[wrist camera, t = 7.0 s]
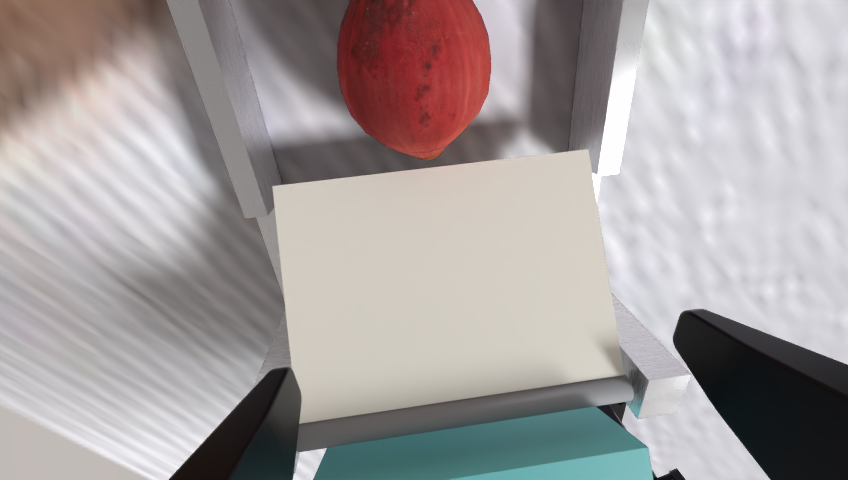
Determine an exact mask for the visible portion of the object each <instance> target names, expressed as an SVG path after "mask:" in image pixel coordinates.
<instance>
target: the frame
mask: <svg viewBox="0 0 848 480" xmlns="http://www.w3.org/2000/svg"><path fill="white" fill-rule="evenodd" d="M166 1H167V4H168V7H169V9H170V12H171V15H172V18H173V21H174V23H175V26H176V29H177V32H178V34H179V37H180V40H181V43H182V46H183V48H184V51H185V54H186V57H187V59H188V62H189V65H190V68H191V71H192V73H193V76H194V79H195V82H196V84H197V87H198V90H199V93H200V96H201V98H202V101H203V104H204V107H205V109H206V112H207V115H208V118H209V121H210V123H211V126H212V129H213V132H214V134H215V137H216V140H217V143H218V146H219V148H220V151H221V154H222V157H223V159H224V162H225V165H226V168H227V170H228V173H229V176H230V179H231V182H232V184H233V187H234V190H235V193H236V195H237V198H238V201H239V204H240V207H241V209H242V212H243V215H244V218H245V219H247V218H255V217H256V219H257V222H258V225H259V228H260V231H261V234H262V237H263V240H264V243H265V245H266V248H267V251H268V254H269V257H270V260H271V263H272V266H273V269H274V272H275V275H276V278H277V280H278V283H279V286H280V289H281V292H282V295H283V298H284V291H283V281H282V272H281V262H280V253H279V244H278V234H277V225H276V215H275V206H274V196H273V187H272V186H278V185H283V184H282V181H281V177H280V174H279V170H278V167H277V163H276V160H275V157H274V153H273V150H272V146H271V143H270V139H269V136H268V132H267V129H266V126H265V122H264V119H263V115H262V112H261V108H260V105H259V101H258V98H257V95H256V91H255V88H254V84H253V81H252V77H251V74H250V70H249V67H248V64H247V60H246V57H245V53H244V50H243V46H242V43H241V39H240V36H239V33H238V29H237V26H236V22H235V19H234V15H233V12H232V8H231V5H230V2H229V0H166ZM648 2H649V0H584V2H583V12H582V22H581V31H580V41H579V51H578V61H577V70H576V80H575V90H574V99H573V109H572V119H571V129H570V138H569V148H568V151H577V150H586V149H589V155H590V162H591V168H592V174H593V181H594V187H595V193H596V199H597V197H598V190H599V184H600V177H601V176H602V175H610V174H618V173H619V168H620V162H621V156H622V151H623V145H624V139H625V133H626V128H627V122H628V116H629V111H630V105H631V99H632V93H633V88H634V82H635V76H636V71H637V65H638V59H639V53H640V48H641V42H642V36H643V31H644V25H645V19H646V13H647V8H648ZM611 294H612V293H611ZM612 300H613V306H614V313H615V319H616V325H617V331H618V338H619V344H620V350H621V357H622V363H623V369H624V374H625V375H626V376H627V377H628V379H629V380H630V382H631V385H632V388H633V393H634V396H633V399H632V401H627V402H626V404H627V405H628V406H629V408H630V409H631V411H632V412H633V414H634V415H635V416H636V418H637V419H642V418H649V417H655V416H661V415H668V414H674V413H677V412H678V409H679V406H680V404H681V401H682V399H683V396H684V393H685V391H686V388H687V385H688V383H689V380H690V378H691V375H692V374H691V373H690V372H689V371H688V370H687V369H686V368H685V367H684V366H683V365H682V364H681V363H680V362H679V361H678V360H677V359H676V358H675V357H674V356H673V355H672V354H671V353H670V352H669V351H668V350H667V349H666V348H665V347H664V346H663V345H662V344H661V343H660V342H659V341H658V340H657V339H656V338H655V337H654V336H653V335H652V334H651V333H650V332H649V331H648V330H647V329H646V328H645V326H644V325H643V324H642V323H641V322H640V321H639V320H638V319H637V318H636V317H635V316H634V315H633V314H632V313H631V312H630V311H629V310H628V309H627V308H626V307H625V306H624V305H623V304H622V303H621V302H620V301H619V300H618V299H617V298H616V297H615V296H614V295H613V294H612ZM284 301H285V300H284ZM282 367H290V368H292V366H291V357H290V347H289V338H288V328H287V319H286V310H284V313H283V315H282V318H281V320H280V323H279V325H278V328H277V330H276V333H275V335H274V338H273V340H272V343H271V345H270V348H269V350H268V353H267V355H266V358H265V360H264V363H263V365H262V368H261V370H260V373H259V375H258V378H257V380H256V383H255V385H254V387H255V386H256V385H257V384H258V383H259V382H260V380H261V379H262V378H263V377H264V376H265V375H266V374H267V373H268V372H269V371H270V370H272V369H275V368H282ZM298 457H299V452H297V451H296V458H295V467H294V473H295V471H296V466H297V462H298Z"/></svg>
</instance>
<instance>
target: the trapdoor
mask: <svg viewBox="0 0 848 480" xmlns="http://www.w3.org/2000/svg"><path fill="white" fill-rule="evenodd" d="M272 187H273V196H274V206H275V215H276V225H277V234H278V244H279V253H280V262H281V272H282V281H283V291H284V300H285V310H286V319H287V328H288V338H289V347H290V357H291V366H292V370H293V372H294V374H295V377H296V380H297V383H298V385H299V388H300V391H301V396H302V403H301V412H300V421H299V431H298V440H297V449H296V451H297V452H303V451H310V450H316V449H322V448H327V450H326V452H325V454H324V456H323V459H322V461H321V463H320V465H319V468H318V470H317V472H316V474H315V477H314V479H313V480H653V474H652V468H651V462H650V456H649V449H648V447H647V446H646V445H645V444H643V443H642V442H641V441H639V440H638V439H637V438H636V437H634V436H633V435H632V434H630V433H629V432H628V431H627V430H625V429H624V428H623V427H621V426H620V425H619V424H618V423H616V422H615V421H614V420H612V419H611V418H610V417H609V416H607V415H606V414H605V413H603V412H602V411H601V410H600V409H598V408H597V407H596V406H601V405H608V404H614V403H621V402H627V401H632V399H633V396H634V393H633V388H632V385H631V382H630V380H629V379H628V377H627V376H626V375H625V374H624V369H623V363H622V357H621V350H620V344H619V338H618V331H617V325H616V319H615V313H614V306H613V300H612V294H611V287H610V281H609V275H608V269H607V262H606V256H605V250H604V243H603V237H602V231H601V225H600V218H599V212H598V206H597V199H596V193H595V187H594V181H593V174H592V168H591V162H590V155H589V149H586V150H577V151H568V152H560V153H551V154H543V155H534V156H526V157H517V158H509V159H500V160H492V161H483V162H474V163H466V164H457V165H449V166H440V167H432V168H423V169H415V170H406V171H398V172H389V173H380V174H372V175H363V176H355V177H346V178H338V179H329V180H321V181H312V182H304V183H295V184H286V185H278V186H272Z"/></svg>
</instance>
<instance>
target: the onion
mask: <svg viewBox="0 0 848 480" xmlns="http://www.w3.org/2000/svg"><path fill="white" fill-rule="evenodd" d="M337 71H338V77H339V83H340V89H341V93H342V95H343V98H344V100H345V102H346V105H347V107H348V109H349V112H350V114H351V116H352V117H353V118H354V119H355V121H356V122H357V123H358V124H359V125H360V126H361V128H362V129H363V130H364V131H365V132H366V133H367V134H369V135H370V136H372V137H373V138H375V139H376V140H378V141H379V142H381V143H382V144H384V145H386V146H387V147H389V148H391V149H393V150H396V151H398V152H401V153H404V154H406V155H410V156H413V157H415V158H418V159H422V160H430V159H434V158H436V157H438V156H439V155H440V154H441V153H442V152H443V151H444V149H445V148H446V147H447V146H448V145H449V144H450V143H451V142H452V141H453V140H454V139H456V138H457V137H458V136H459V135H460V134H461V133H462V132H463V131H464V130H465V129H466V127H467V126H468V125H469V124H470V123H471V122H472V120H473V119H474V118H475V117H476V116H477V115H478V114H479V112H480V110H481V107H482V105H483V103H484V101H485V99H486V97H487V95H488V91H489V82H490V74H491V55H490V46H489V37H488V33H487V30H486V27H485V25H484V22H483V19H482V16H481V14H480V13H479V11H478V9H477V7H476V6H475V4H474V2H473V1H472V0H350V3H349V5H348V8H347V10H346V13H345V15H344V18H343V20H342V23H341V26H340V32H339V37H338V44H337Z"/></svg>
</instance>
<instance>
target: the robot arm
mask: <svg viewBox="0 0 848 480" xmlns="http://www.w3.org/2000/svg"><path fill="white" fill-rule="evenodd" d="M673 343H674V346H675V348H676V349H677V351H678V353H679V354H680V356H681V357H682V359H683V360H684V362H685V363H686V365H687V366H688V368H689V369H690V371H691V372H692V374H693V376H694V377H695V379H696V380H697V382H698V383H699V385H700V386H701V388H702V389H703V391H704V392H705V394H706V395H707V397H708V399H709V400H710V401H711V403H712V404H713V406H714V407H715V409H716V410H717V411H718V413H719V414H720V415H721V417H722V418H723V419H724V421H725V422H726V423H727V425H728V426H729V427H730V428H731V430H732V431H733V432H734V434H735V435H736V436H737V437H738V439H739V440H740V441H741V442H742V444H743V445H744V446H745V448H746V449H747V450H748V451H749V453H750V454H751V455H752V457H753V458H754V459H755V460H756V462H757V463H758V464H759V465H760V467H761V468H762V469H763V471H764V472H765V473H766V474H767V476H768V477H769V478H770V480H848V365H847V364H844V363H842V362H839V361H837V360H834V359H831V358H829V357H826V356H824V355H821V354H818V353H816V352H813V351H811V350H808V349H806V348H803V347H800V346H798V345H795V344H793V343H790V342H787V341H785V340H782V339H780V338H777V337H775V336H772V335H769V334H767V333H764V332H762V331H759V330H756V329H754V328H751V327H749V326H746V325H744V324H741V323H738V322H736V321H733V320H731V319H728V318H725V317H723V316H720V315H718V314H715V313H713V312H710V311H707V310H704V309H693V310H686V311H683V312H682V313H681V314H680V316H679V319H678V323H677V326H676V329H675V332H674V335H673ZM301 403H302V396H301V391H300V388H299V385H298V383H297V380H296V377H295V374H294V372H293V370H292V368H290V367H282V368H275V369H272V370H270V371H269V372H268V373H267V374H266V375H265V376H264V377H263V378H262V379H261V380H260V382H259V383H258V384H257V385H256V386H255V387H254V388H253V389H252V390H251V391H250V392H249V393H248V395H247V396H246V397H245V398H244V399H243V400H242V401H241V402H240V403H239V404H238V405H237V406H236V407H235V409H234V410H233V411H232V412H231V413H230V414H229V415H228V416H227V417H226V418H225V419H224V420H223V421H222V423H221V424H220V425H219V426H218V427H217V428H216V429H215V430H214V431H213V432H212V433H211V434H210V436H209V437H208V438H207V439H206V440H205V441H204V442H203V443H202V444H201V445H200V446H199V447H198V448H197V450H196V451H195V452H194V453H193V454H192V455H191V456H190V457H189V458H188V459H187V460H186V461H185V463H184V464H183V465H182V466H181V467H180V468H179V469H178V470H177V471H176V472H175V473H174V474H173V475H172V477H171V478H170V479H169V480H293V474H294V467H295V458H296V449H297V440H298V431H299V421H300V412H301ZM596 407H597V408H598V409H600V410H601V411H602V412H603V413H605V414H606V415H607V416H609V417H610V418H611V419H612V420H614V421H615V422H616V423H618V424H619V425H620V426H621V427H623V428H624V429H625V430H626V428H625V427H624V425H623V424H622V418H623V415H624V411H625V407H626V402H621V403H614V404H608V405H601V406H596ZM652 474H653V480H685V478H684V477H683V476H682V475H681V473H680V472H679V471H678V469H677V468H676V469H674V470H671V471H669V474H666V475H664V476H661V477H659V478H657V477H656V475H655V474H654V472H653V471H652Z"/></svg>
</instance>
